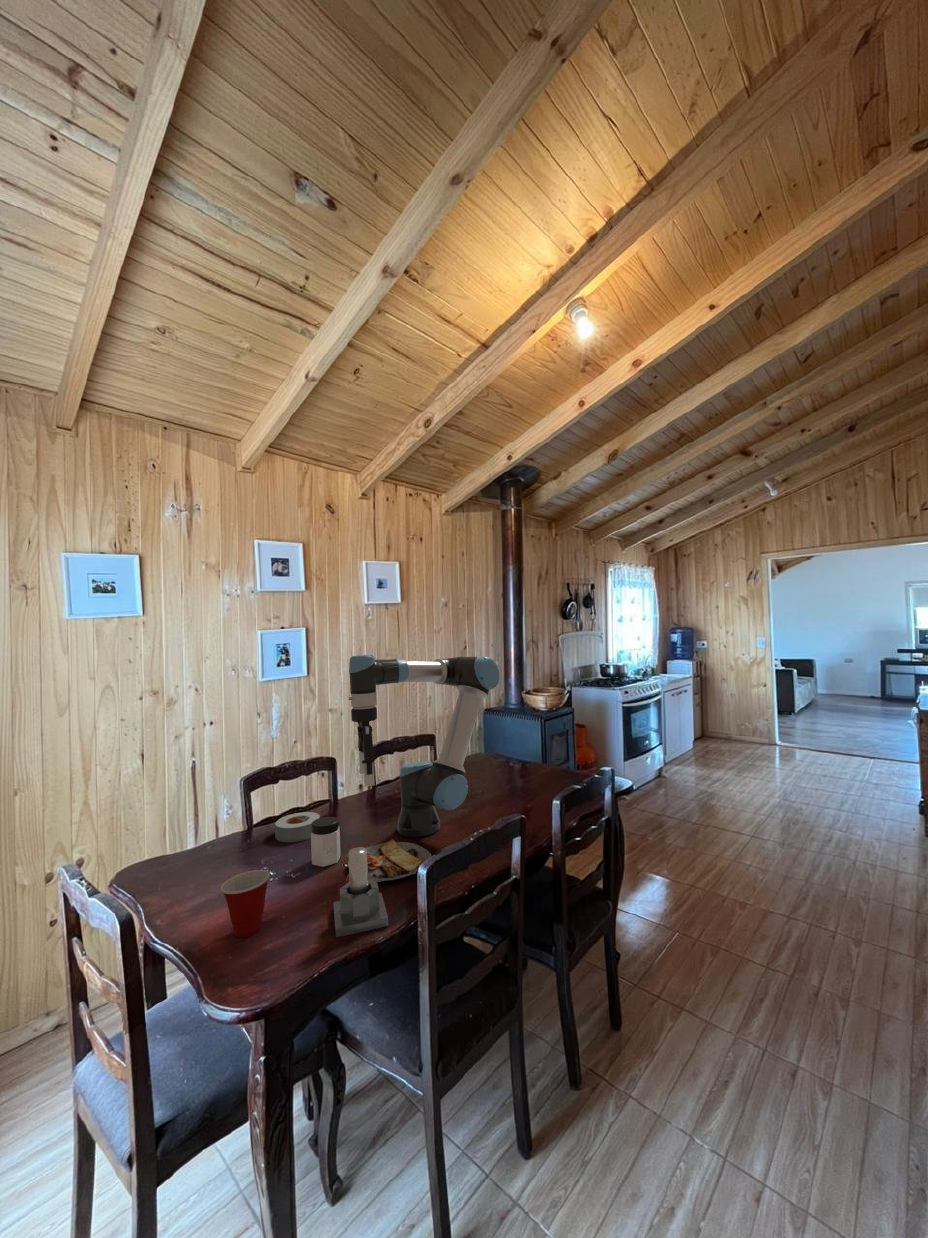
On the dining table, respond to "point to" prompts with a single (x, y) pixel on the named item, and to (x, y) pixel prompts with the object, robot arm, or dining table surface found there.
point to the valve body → (359, 910)
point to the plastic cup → (246, 900)
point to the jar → (325, 841)
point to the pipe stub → (358, 871)
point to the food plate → (394, 859)
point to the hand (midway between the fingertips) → (366, 779)
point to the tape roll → (295, 827)
